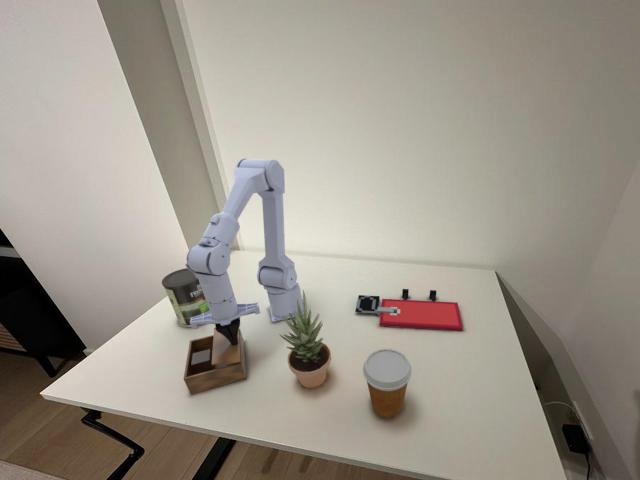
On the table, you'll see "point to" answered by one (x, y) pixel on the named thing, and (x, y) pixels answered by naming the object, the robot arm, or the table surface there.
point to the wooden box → (220, 373)
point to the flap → (224, 350)
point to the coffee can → (185, 295)
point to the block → (202, 361)
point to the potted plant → (307, 349)
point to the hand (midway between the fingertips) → (235, 342)
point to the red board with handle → (413, 312)
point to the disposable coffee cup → (387, 380)
